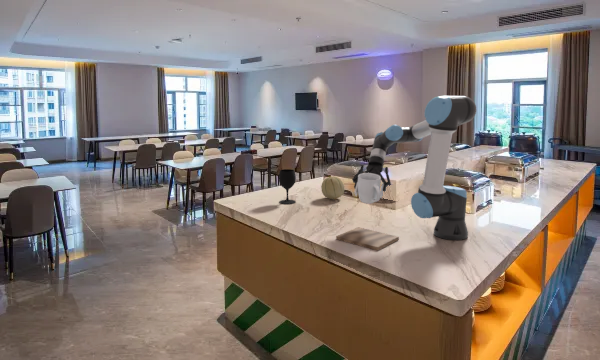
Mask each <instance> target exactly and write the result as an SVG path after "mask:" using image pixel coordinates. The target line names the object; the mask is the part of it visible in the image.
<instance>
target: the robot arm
mask: <svg viewBox="0 0 600 360" xmlns="http://www.w3.org/2000/svg"><path fill="white" fill-rule="evenodd" d="M476 114H477V105H476V103H475V101H474V100H473V99H472V98H471V97H469V96H465V95H440V96H435V97H433V98H431V100H429V101H428V103H427V104H426V107H425V109H424V118H425V119H424V120H423V121H421V122H418V123H416V124H413V125H412V126H408V127H401V125H397V124H392V125H390V126H389V127H387V129H385V130H384V132H382V131H381V132H378V133H376V135H375V137H374V139H373V145H372V148H371V152H370V156H369V160H368V164H367V166H364V165H363V164H362V165H361V166H360V168H359V170H358V171H357V172H356V173H355V175H354V176H353V177H352V179H351V181H352V183H353V184H354V185H353V188H354V192H353V193H354V195H355V197H357V196H358V175H359V174H362V173H373V174H377V175H379V176H380V177H381V182H382V183H381V184H382V186H381V191H380V199H382V196H383V191H384V192H385V191H386V187H387V186H388V185H389V186H390V185H392V183H391V180H390V175H389V167H388V166H385V167H384V164H385V160H386V156H387V152H388V148H389V147H391V146H392V145H393V144H397V143H399V144H402V143H416V142H421V141H422V140H423V139H424V138H426V137H428V136H430V137H429V138H430V139H429V144H428V150H427V151H428V152H427V158H426V163H425V170H424V174H423V175H424V176H423V180H422V181H423V182H422V184H420V185H419V186H418V191H417V192H415V193H414V194H412V196H411V200H410V205H411V209H412V210H413V212H414V214H415V216H417V217H418V218H420V219H431V218H437V221H436V223H435V226H434V228H433V235H434V236H435V237H437V238H440V239H444V240H449V241H461V240H462V239H463V240H466V239H467V238H468V236H469V231H468V227H467V225H466V224H467V223H466V211H467V200H468V197H467V194H468V193H467V190H466V189H465V188H461V187H458V186H453V185H444V183H445V178H446V177H445V176H446V172H447V167H448V160H449V156H450V148H451V144H452V139H453V134H454V133H455V132H457V130H458V127H460V126H461V125H464V124H467V123H470V122H471V121H472V120H473V119H474V117H475V116H476ZM382 172H384V174H385V176H386V177H385V178H386V179H387V181H386V180H385V178H384V176H383V174H382ZM463 240H462V241H463Z"/></svg>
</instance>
